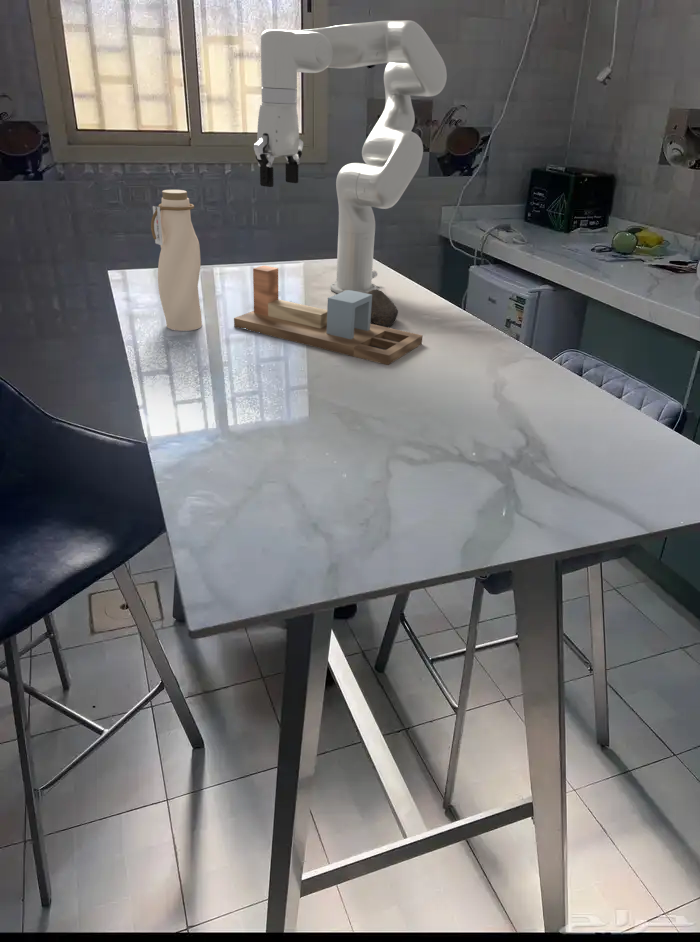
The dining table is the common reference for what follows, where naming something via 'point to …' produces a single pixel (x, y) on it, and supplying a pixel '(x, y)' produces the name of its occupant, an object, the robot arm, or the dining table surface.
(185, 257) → the water bottle
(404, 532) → the dining table surface
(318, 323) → the l-shaped wooden block
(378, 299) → the stone
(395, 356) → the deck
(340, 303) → the tunnel
